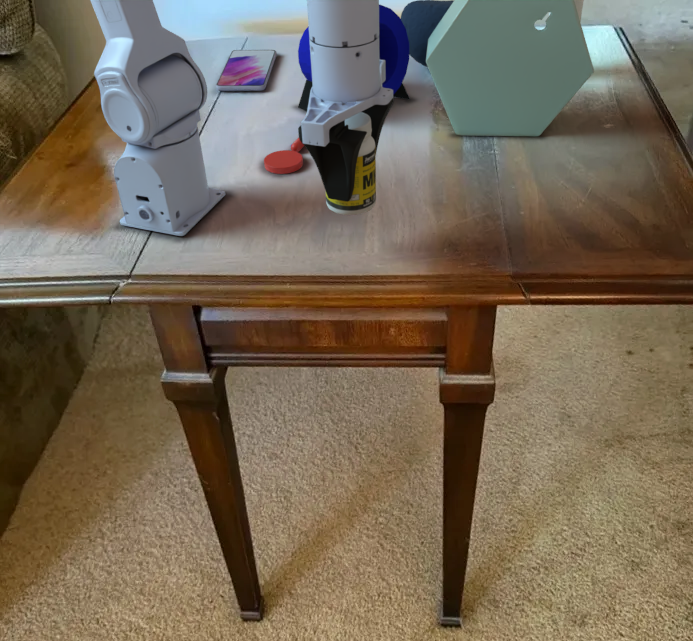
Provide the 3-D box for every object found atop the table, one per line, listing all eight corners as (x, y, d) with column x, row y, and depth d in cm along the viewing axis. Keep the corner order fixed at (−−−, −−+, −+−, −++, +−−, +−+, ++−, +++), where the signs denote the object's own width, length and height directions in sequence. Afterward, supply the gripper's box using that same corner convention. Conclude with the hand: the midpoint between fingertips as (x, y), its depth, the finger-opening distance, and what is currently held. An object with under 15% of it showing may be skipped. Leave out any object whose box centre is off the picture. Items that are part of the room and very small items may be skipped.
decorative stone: (492, 75, 110) (498, 3, 104) (413, 86, 108) (414, 13, 102) (464, 48, 119) (468, -19, 113) (390, 58, 117) (390, -11, 111)
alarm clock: (347, 129, 98) (341, 8, 88) (288, 103, 105) (277, -12, 96) (414, 101, 104) (415, -15, 94) (354, 78, 111) (350, -32, 102)
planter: (508, 143, 103) (618, 9, 91) (511, 170, 97) (629, 30, 85) (403, 75, 99) (504, -75, 87) (399, 98, 93) (507, -59, 81)
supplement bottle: (371, 218, 70) (369, 132, 64) (321, 214, 71) (315, 129, 65) (380, 192, 73) (379, 109, 68) (332, 189, 74) (327, 107, 69)
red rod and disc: (293, 176, 88) (292, 167, 88) (257, 171, 90) (256, 161, 89) (336, 128, 98) (336, 119, 97) (304, 124, 100) (303, 115, 99)
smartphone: (277, 49, 120) (264, 86, 108) (277, 54, 120) (265, 92, 109) (231, 49, 120) (214, 86, 108) (232, 55, 121) (214, 92, 109)
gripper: (358, 72, 56) (363, 231, 64) (418, 12, 66) (415, 156, 75) (271, 63, 58) (287, 218, 66) (342, 6, 68) (348, 146, 77)
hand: (350, 184), depth 71 cm, fingers closed on supplement bottle, 5 cm apart
